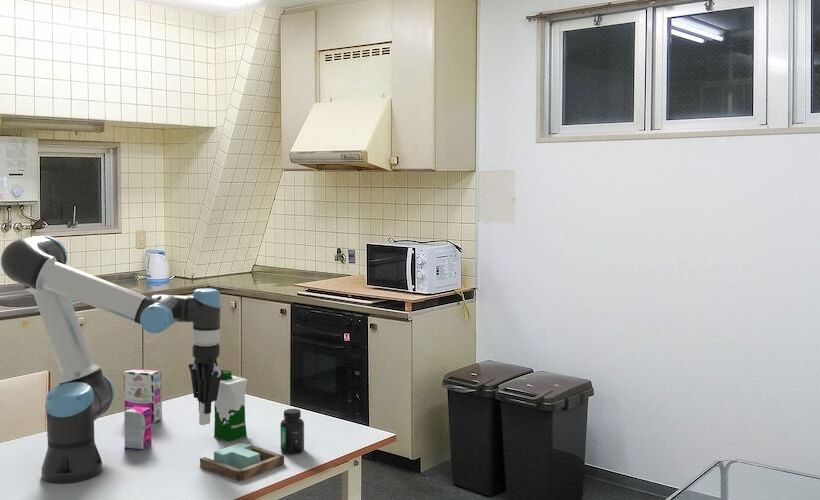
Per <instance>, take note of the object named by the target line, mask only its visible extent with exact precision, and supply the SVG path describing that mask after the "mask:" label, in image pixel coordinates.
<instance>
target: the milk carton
mask: <svg viewBox="0 0 820 500" xmlns="http://www.w3.org/2000/svg"><path fill="white" fill-rule="evenodd" d="M222 370H223V375H222V377H221V380H220V385H219V390H218V396H217V400H216V401H213V402H214V429H213V430H214V434H213V437H214V438H216V439H220V440H222V441H226V442H233V441H235V440H238V439H241V438H244V437H247V434H248V433H247V425H246V424H247V423H246V387H247V382H248V378H247V379H246V378H243V377H241V376H236V375H233V374H232V370H228V369H225V370H224V369H222Z"/></svg>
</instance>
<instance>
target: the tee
mask: <svg viewBox="0 0 820 500" xmlns="http://www.w3.org/2000/svg"><path fill="white" fill-rule="evenodd" d="M213 460H214V461H217V462H220V463H223V464H226V465H229V466H232V467H235V468H237V469H243V468H245V467H248V466H251V465H254V464H256V463H259V462H261V459H260V453H257V452H254V451H251V444H249V443H246V442H238V443H236V444H235V443H234V444H233V445H230V446H226V447H224V448H221V449H218V450H215V451H213Z"/></svg>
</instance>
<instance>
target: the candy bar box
mask: <svg viewBox="0 0 820 500" xmlns="http://www.w3.org/2000/svg"><path fill="white" fill-rule="evenodd" d="M161 374H162V371H161V370H154V369H153V370H152V369H139V368H131V369H127V370H126V371H123V388H124V389H123V392H124V412H125V411H126V410H128V409H130V408H132V407H134V406H137V407H148V408H151V424H155V423H158V422H159V421H162V420H163V409H162V376H161Z"/></svg>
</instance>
